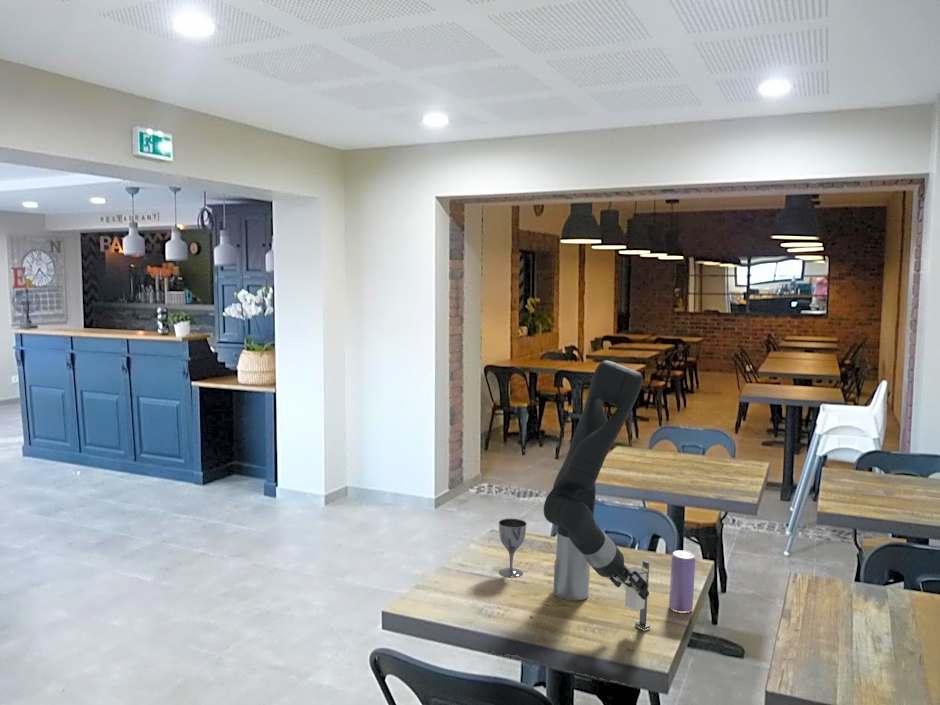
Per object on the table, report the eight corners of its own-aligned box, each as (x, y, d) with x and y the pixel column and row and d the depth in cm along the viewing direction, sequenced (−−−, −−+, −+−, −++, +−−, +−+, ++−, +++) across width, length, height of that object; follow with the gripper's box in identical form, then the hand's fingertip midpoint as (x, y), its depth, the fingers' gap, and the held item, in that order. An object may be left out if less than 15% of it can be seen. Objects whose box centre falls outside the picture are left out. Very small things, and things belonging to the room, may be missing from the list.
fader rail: (644, 631, 185) (647, 564, 184) (635, 626, 188) (638, 560, 186) (649, 629, 186) (653, 562, 185) (640, 624, 189) (644, 559, 187)
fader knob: (635, 611, 182) (637, 574, 181) (624, 605, 185) (626, 569, 184) (644, 608, 184) (646, 571, 183) (633, 602, 187) (635, 566, 186)
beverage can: (693, 615, 195) (696, 559, 194) (669, 612, 196) (672, 557, 195) (691, 605, 201) (694, 551, 199) (668, 603, 202) (671, 549, 201)
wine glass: (529, 571, 221) (531, 522, 220) (516, 580, 214) (518, 529, 213) (505, 565, 225) (507, 516, 224) (492, 573, 219) (493, 523, 217)
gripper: (632, 549, 171) (663, 587, 179) (588, 531, 183) (619, 567, 191) (614, 576, 169) (647, 614, 177) (571, 556, 181) (603, 592, 188)
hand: (632, 590), depth 184 cm, fingers open, 8 cm apart
